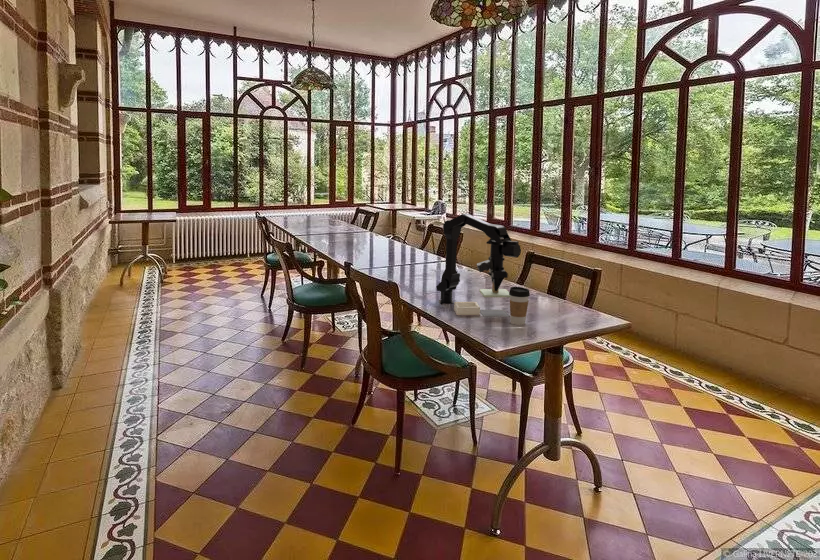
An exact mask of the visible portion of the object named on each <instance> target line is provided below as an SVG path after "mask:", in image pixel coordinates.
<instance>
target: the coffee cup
mask: <svg viewBox="0 0 820 560" xmlns="http://www.w3.org/2000/svg"><path fill="white" fill-rule="evenodd" d="M508 292H509V295H510V298H509V316H510V317H509V318H510V324H512V325H517V326H519V325H520V326H521V325H522V326H523V325H525V324H526V319H527V313H528V307H529V297H530V294H531V293H530V290H529V289H528V288H526V287H521V286H511V287H509V291H508Z"/></svg>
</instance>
